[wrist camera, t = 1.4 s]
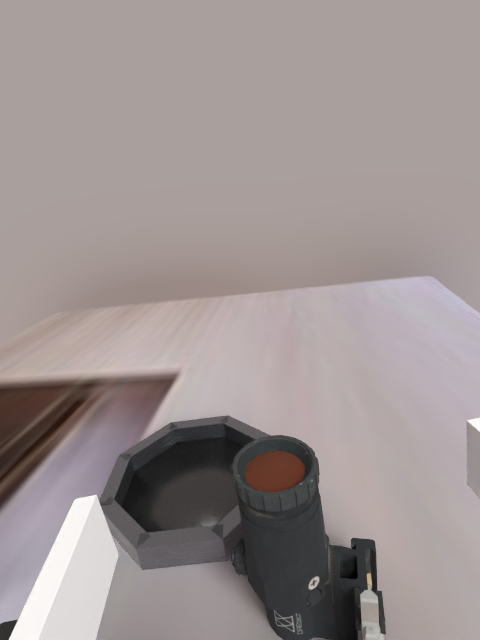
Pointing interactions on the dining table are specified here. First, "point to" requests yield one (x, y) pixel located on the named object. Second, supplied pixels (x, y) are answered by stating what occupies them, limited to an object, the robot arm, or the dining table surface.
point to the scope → (300, 548)
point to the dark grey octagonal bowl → (178, 493)
